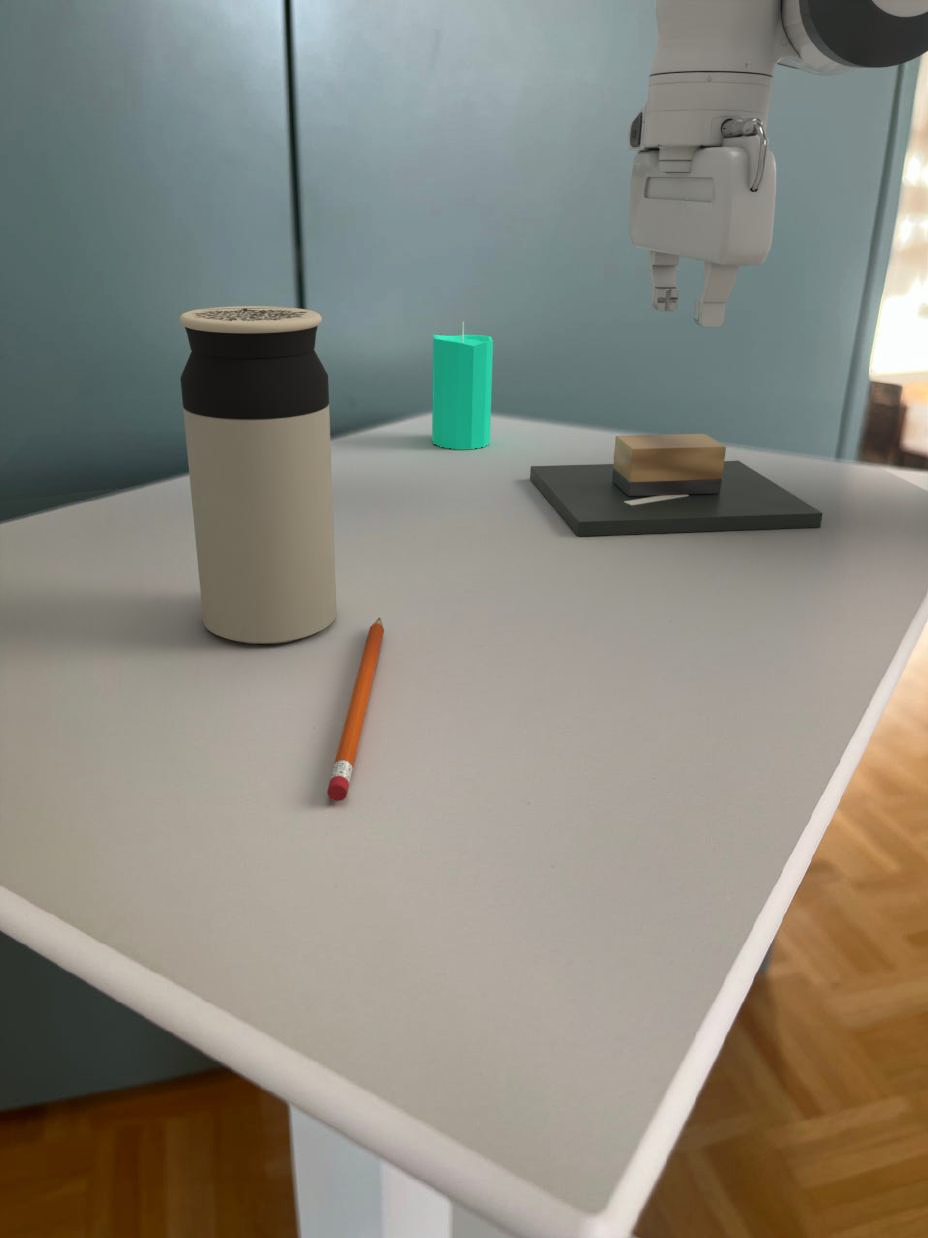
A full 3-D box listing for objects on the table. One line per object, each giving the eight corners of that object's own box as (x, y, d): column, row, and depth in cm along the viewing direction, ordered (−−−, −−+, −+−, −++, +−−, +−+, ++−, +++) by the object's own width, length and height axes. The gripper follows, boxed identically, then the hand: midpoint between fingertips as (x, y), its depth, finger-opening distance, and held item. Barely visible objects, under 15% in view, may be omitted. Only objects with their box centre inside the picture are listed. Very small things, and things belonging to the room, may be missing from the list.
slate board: (737, 472, 94) (738, 459, 94) (820, 527, 80) (823, 512, 79) (529, 478, 91) (530, 465, 90) (577, 536, 76) (578, 520, 76)
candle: (426, 447, 100) (427, 324, 96) (437, 433, 106) (438, 316, 101) (485, 451, 100) (489, 326, 95) (493, 437, 105) (497, 318, 100)
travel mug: (340, 644, 58) (329, 323, 51) (199, 651, 57) (166, 323, 49) (333, 592, 65) (323, 304, 58) (208, 598, 64) (181, 304, 57)
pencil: (327, 801, 43) (326, 784, 43) (372, 623, 60) (372, 610, 60) (347, 802, 43) (346, 784, 43) (387, 624, 60) (386, 610, 60)
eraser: (699, 478, 87) (705, 433, 86) (720, 493, 83) (726, 446, 82) (611, 481, 86) (615, 435, 84) (628, 496, 82) (632, 448, 80)
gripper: (813, 116, 65) (781, 336, 70) (694, 129, 83) (676, 302, 89) (721, 113, 64) (696, 337, 69) (621, 126, 82) (608, 302, 88)
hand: (684, 317), depth 79 cm, fingers open, 8 cm apart
